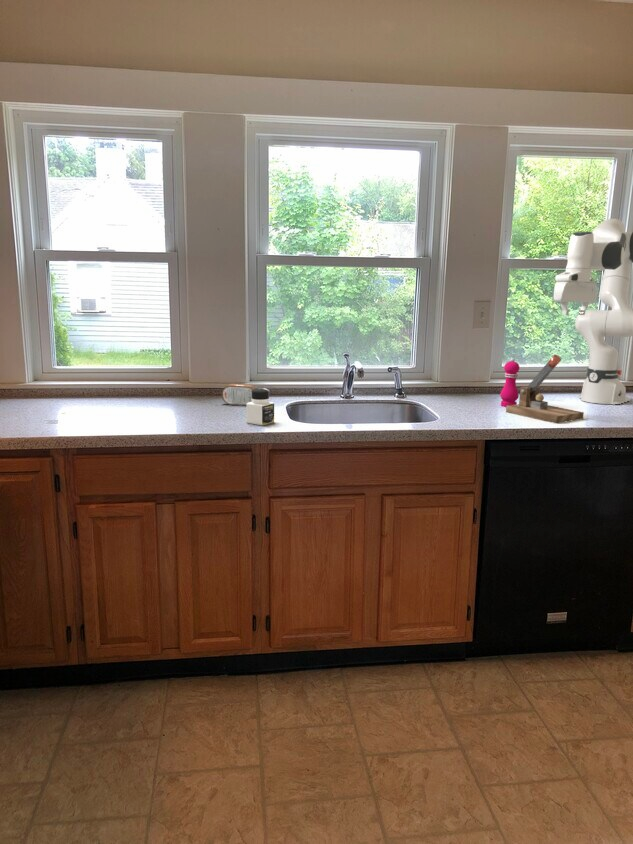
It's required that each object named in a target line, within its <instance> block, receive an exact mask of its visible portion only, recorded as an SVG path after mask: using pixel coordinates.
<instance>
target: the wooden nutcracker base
mask: <svg viewBox="0 0 633 844" xmlns="http://www.w3.org/2000/svg"><path fill="white" fill-rule="evenodd" d="M530 389H531V388H529V387H528V386H520V388H519V397H518V399H519V400H518V401H519V402H518V403H517V404H516V405H509V406H506V407H505V408H506V409H505V413H508V414H512V415H517V416H522V417H527V418H530V419H531V418H532V419H536V420H540V421H544V422H549V423H552V422H554V423H553V424H560V423H559V422H561V423H566V422H565V421H567V422H572V421H571V420H573V421H577V420H576V419H579V420H583V419H584V411H578V410H574V409H569V408H564V407H559V406H554V405H548V404H549V401H545V400H544V399H545V397H544V395H543V394H542V393H540V386H539V387H538V388H537V389H536V390H535V391H534V393H533V394H532V395H531V396H530ZM582 418H583V419H582Z"/></svg>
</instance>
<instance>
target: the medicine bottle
mask: <svg viewBox="0 0 633 844" xmlns="http://www.w3.org/2000/svg"><path fill="white" fill-rule="evenodd" d="M252 401H253V402H250V403H247V404H246V406H245V407H246V424H250V425H257V426H265V425H268V424H272V423H274V422H275V402H273V401H270V390H269V389H267V388H264V387H263V388H261V387H259V388H257V387H256V389H253V390H252Z"/></svg>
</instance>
